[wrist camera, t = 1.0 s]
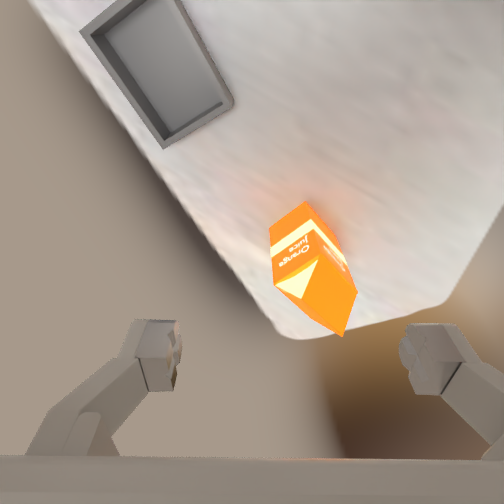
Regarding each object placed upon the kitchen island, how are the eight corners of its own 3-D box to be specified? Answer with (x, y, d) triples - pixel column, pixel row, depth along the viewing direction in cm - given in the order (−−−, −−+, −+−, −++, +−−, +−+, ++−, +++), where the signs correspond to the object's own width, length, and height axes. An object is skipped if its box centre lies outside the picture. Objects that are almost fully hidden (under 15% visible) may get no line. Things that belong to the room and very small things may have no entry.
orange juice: (305, 200, 51) (330, 281, 35) (336, 235, 55) (371, 323, 38) (268, 228, 54) (274, 315, 38) (299, 259, 58) (317, 351, 41)
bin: (95, 31, 38) (78, 31, 35) (166, -26, 35) (156, -32, 32) (170, 139, 46) (163, 149, 42) (234, 100, 43) (232, 107, 39)
